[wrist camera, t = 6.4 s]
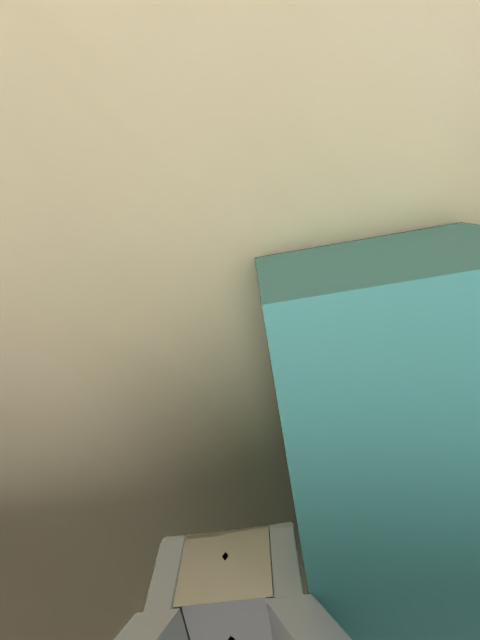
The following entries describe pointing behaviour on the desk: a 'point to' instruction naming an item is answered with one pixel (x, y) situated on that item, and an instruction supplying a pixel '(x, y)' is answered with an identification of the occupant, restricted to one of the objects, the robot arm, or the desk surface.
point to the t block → (383, 425)
